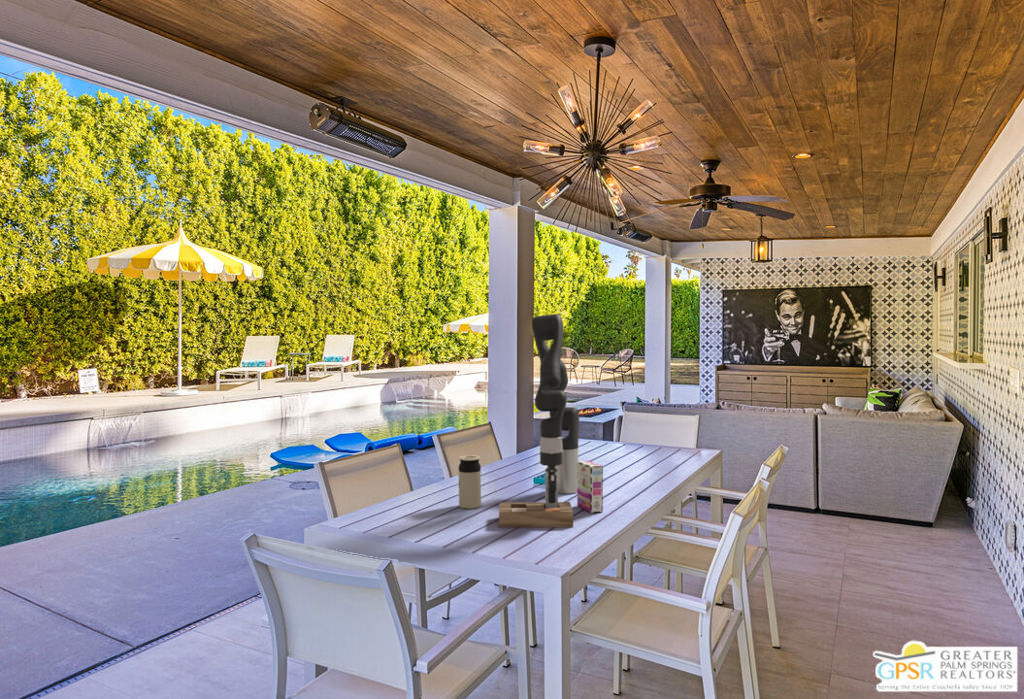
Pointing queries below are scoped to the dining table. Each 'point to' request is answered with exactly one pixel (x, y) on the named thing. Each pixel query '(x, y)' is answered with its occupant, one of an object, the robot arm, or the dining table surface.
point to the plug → (547, 504)
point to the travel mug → (469, 482)
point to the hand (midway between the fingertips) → (551, 500)
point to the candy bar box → (590, 486)
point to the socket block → (535, 515)
